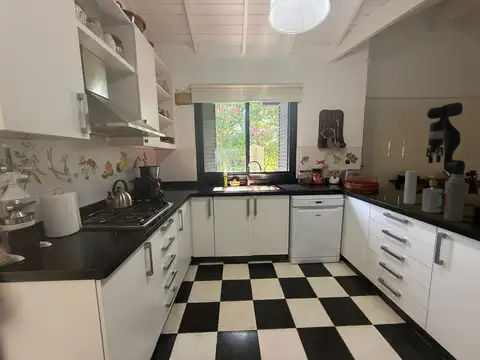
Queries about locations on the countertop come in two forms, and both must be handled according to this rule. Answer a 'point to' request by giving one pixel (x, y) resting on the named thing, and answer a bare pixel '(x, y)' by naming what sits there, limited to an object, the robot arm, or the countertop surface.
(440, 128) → the robot arm
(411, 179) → the cylindrical container
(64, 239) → the countertop surface
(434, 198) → the press body
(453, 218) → the thermos bottle
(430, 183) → the plunger
